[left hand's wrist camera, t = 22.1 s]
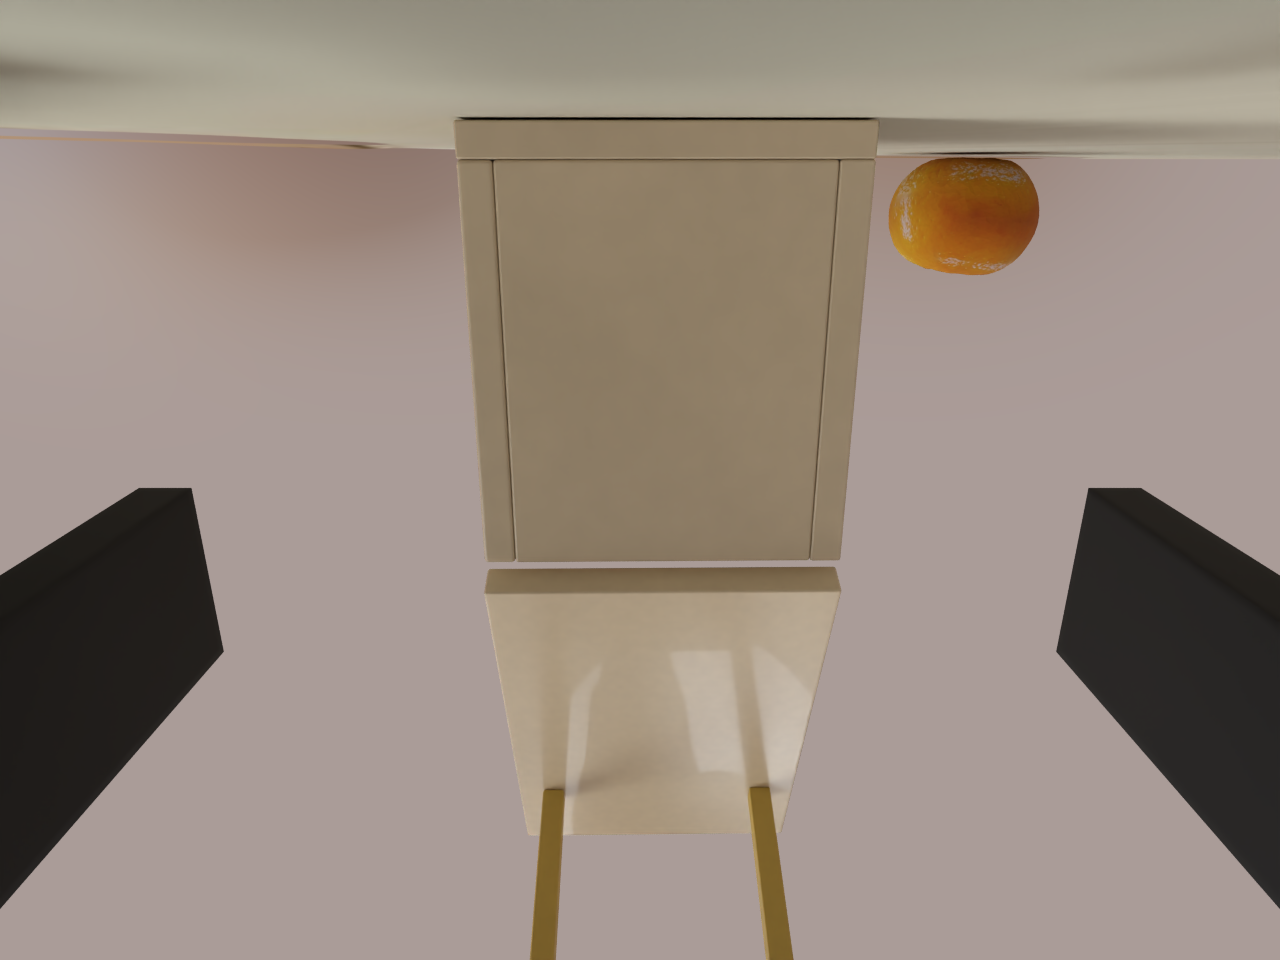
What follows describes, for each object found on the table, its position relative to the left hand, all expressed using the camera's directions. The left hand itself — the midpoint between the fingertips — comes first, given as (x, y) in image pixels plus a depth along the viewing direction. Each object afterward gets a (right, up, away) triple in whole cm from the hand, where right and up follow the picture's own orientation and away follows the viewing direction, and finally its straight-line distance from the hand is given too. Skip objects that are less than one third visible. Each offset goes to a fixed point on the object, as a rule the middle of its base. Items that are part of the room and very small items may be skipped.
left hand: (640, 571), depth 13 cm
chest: (0, +11, +12) cm, 16 cm away
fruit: (+20, +21, +38) cm, 48 cm away
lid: (+1, -6, +14) cm, 15 cm away
